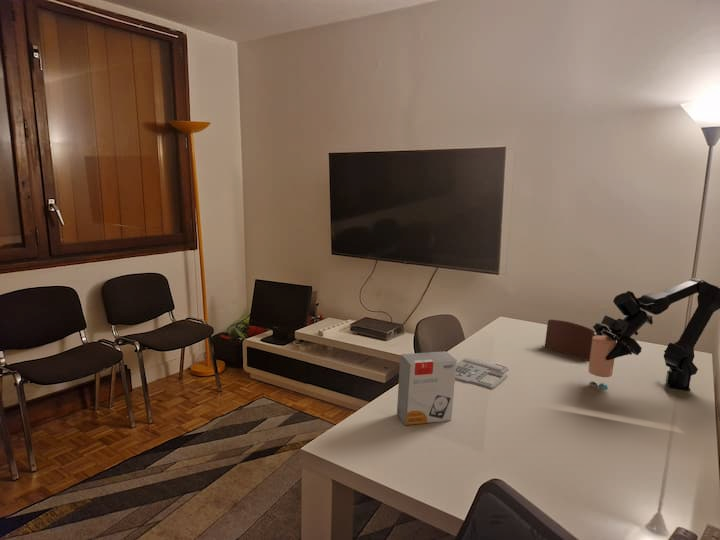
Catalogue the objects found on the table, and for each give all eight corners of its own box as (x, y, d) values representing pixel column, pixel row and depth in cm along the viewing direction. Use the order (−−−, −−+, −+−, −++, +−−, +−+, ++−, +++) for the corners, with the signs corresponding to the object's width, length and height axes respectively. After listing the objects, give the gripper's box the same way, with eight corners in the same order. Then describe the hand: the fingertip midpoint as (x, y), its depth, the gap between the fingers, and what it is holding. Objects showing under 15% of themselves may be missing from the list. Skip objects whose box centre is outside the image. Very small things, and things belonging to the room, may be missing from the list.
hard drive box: (404, 426, 140) (408, 363, 136) (396, 414, 148) (398, 353, 144) (452, 420, 145) (457, 359, 141) (441, 408, 152) (445, 350, 148)
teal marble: (606, 390, 168) (607, 382, 168) (607, 394, 166) (608, 386, 165) (597, 388, 169) (598, 381, 169) (598, 392, 167) (599, 384, 166)
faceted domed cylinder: (610, 370, 169) (615, 337, 166) (613, 378, 162) (617, 344, 160) (587, 367, 171) (591, 334, 169) (589, 374, 165) (593, 340, 162)
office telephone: (467, 353, 195) (515, 365, 184) (467, 359, 196) (515, 372, 184) (441, 369, 177) (492, 384, 165) (440, 376, 178) (492, 392, 166)
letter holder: (590, 361, 195) (594, 328, 193) (543, 348, 210) (547, 317, 207) (599, 355, 202) (603, 324, 199) (554, 343, 216) (557, 313, 214)
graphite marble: (596, 388, 169) (597, 381, 169) (597, 392, 167) (598, 384, 166) (587, 387, 171) (588, 379, 170) (588, 390, 168) (589, 382, 167)
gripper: (600, 301, 172) (569, 331, 172) (638, 316, 154) (603, 350, 154) (617, 321, 175) (586, 351, 175) (656, 338, 157) (622, 371, 157)
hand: (598, 355), depth 165 cm, fingers closed on faceted domed cylinder, 7 cm apart
